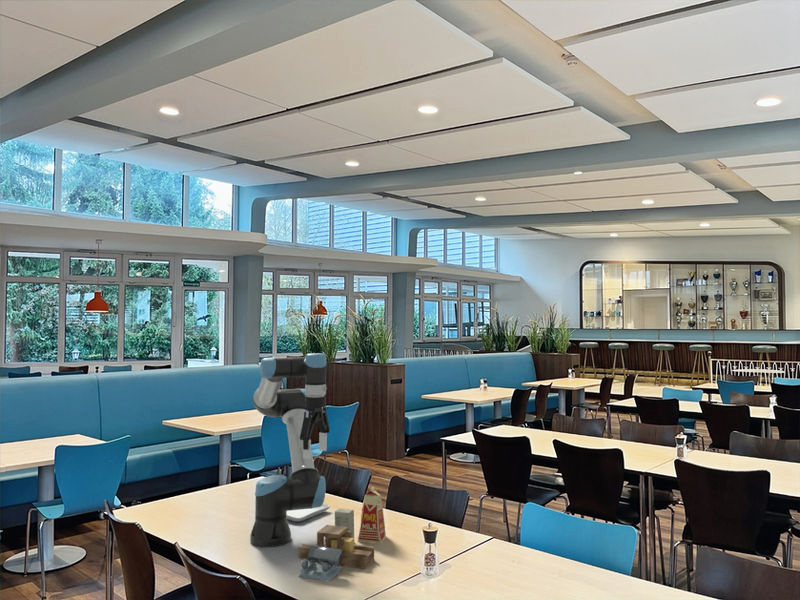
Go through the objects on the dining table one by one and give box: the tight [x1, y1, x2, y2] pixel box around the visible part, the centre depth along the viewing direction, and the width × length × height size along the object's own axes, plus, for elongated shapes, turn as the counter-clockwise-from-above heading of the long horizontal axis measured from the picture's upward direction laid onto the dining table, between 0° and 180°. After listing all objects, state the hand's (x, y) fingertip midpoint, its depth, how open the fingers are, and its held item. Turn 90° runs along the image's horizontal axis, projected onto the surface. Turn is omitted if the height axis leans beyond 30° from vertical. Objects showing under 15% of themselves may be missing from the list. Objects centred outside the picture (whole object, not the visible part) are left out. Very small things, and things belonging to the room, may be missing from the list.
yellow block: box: [331, 537, 355, 552], centre depth 220 cm, size 7×4×4 cm, turn 73°
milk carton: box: [357, 486, 386, 545], centre depth 242 cm, size 9×9×20 cm
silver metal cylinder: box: [307, 544, 343, 567], centre depth 208 cm, size 10×5×5 cm, turn 73°
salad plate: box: [286, 503, 331, 523], centre depth 272 cm, size 21×21×3 cm
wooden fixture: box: [298, 524, 375, 570], centre depth 221 cm, size 26×8×10 cm, turn 73°
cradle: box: [298, 559, 342, 582], centre depth 209 cm, size 11×9×5 cm
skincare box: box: [334, 508, 355, 539], centre depth 237 cm, size 6×4×12 cm
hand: (315, 454), depth 231 cm, fingers open, 13 cm apart
